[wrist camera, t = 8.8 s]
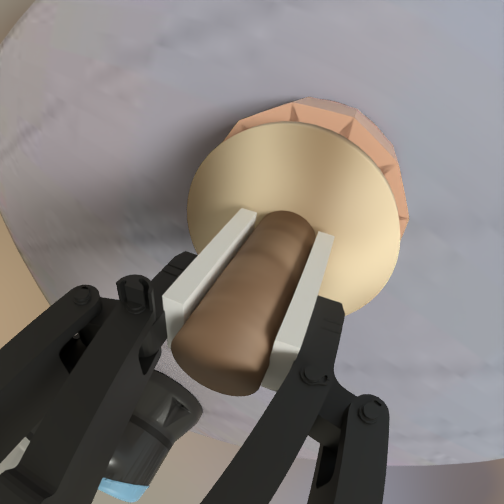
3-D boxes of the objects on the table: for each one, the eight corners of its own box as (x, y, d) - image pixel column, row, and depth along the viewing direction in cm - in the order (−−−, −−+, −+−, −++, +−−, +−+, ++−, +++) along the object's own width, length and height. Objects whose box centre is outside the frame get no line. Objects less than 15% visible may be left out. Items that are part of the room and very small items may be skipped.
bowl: (233, 226, 27) (203, 261, 23) (250, 84, 20) (215, 89, 16) (369, 269, 24) (365, 315, 20) (419, 127, 17) (435, 144, 13)
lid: (195, 274, 21) (110, 378, 13) (204, 103, 14) (49, 156, 7) (356, 330, 18) (325, 469, 11) (430, 161, 12) (494, 291, 5)
